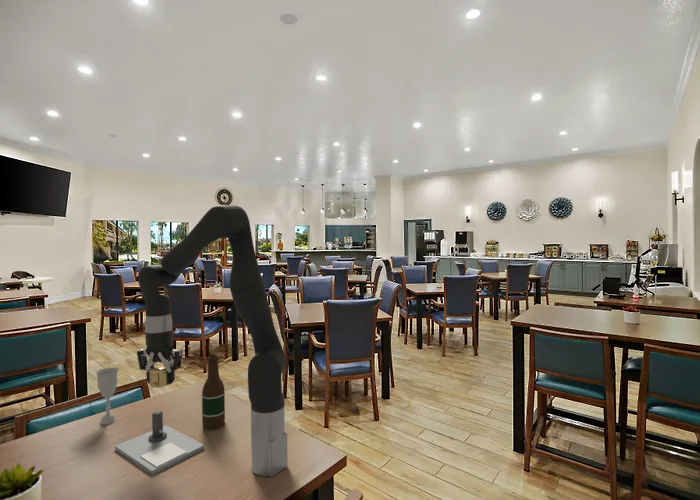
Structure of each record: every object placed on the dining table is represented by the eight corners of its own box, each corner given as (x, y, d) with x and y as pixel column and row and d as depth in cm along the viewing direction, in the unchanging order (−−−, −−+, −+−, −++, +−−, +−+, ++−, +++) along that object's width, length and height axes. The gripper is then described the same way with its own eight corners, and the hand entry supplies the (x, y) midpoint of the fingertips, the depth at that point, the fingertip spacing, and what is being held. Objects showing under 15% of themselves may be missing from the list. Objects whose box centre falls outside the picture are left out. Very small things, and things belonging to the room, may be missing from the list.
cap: (162, 388, 113) (162, 372, 113) (144, 388, 114) (143, 371, 114) (175, 380, 120) (175, 364, 120) (158, 379, 121) (157, 364, 121)
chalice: (123, 420, 135) (122, 370, 135) (102, 428, 129) (101, 375, 129) (113, 415, 139) (112, 366, 138) (92, 422, 133) (91, 371, 133)
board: (204, 448, 116) (204, 419, 116) (152, 475, 103) (151, 442, 103) (166, 428, 129) (165, 401, 128) (115, 449, 116) (114, 420, 115)
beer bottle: (229, 419, 135) (228, 353, 134) (219, 430, 127) (218, 359, 127) (208, 419, 136) (207, 352, 135) (197, 429, 128) (196, 359, 127)
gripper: (129, 332, 114) (131, 387, 114) (173, 332, 112) (175, 388, 113) (145, 326, 121) (147, 378, 122) (187, 326, 120) (189, 379, 120)
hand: (160, 382), depth 117 cm, fingers closed on cap, 5 cm apart
